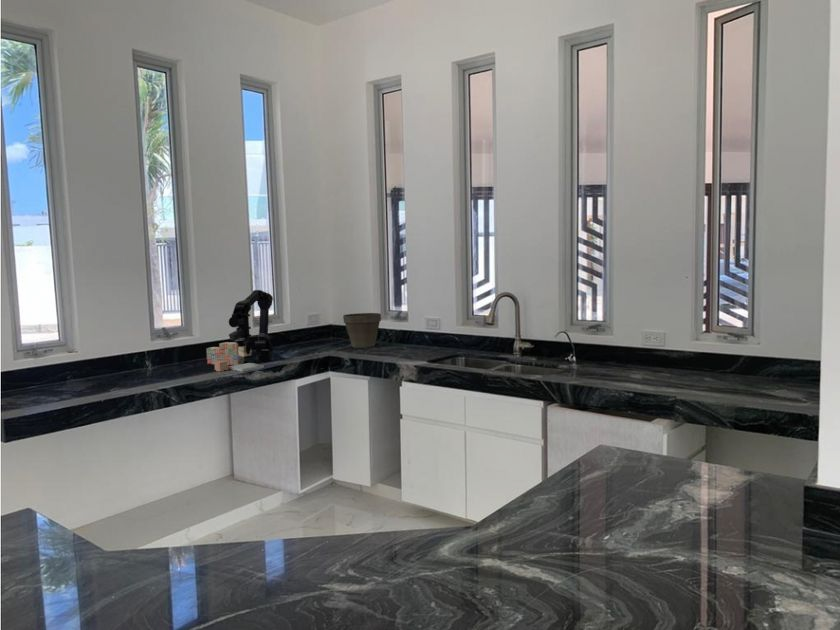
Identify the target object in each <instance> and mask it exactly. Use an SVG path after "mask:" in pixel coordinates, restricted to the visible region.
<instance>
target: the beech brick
mask: <svg viewBox="0 0 840 630" xmlns="http://www.w3.org/2000/svg"><path fill="white" fill-rule="evenodd" d="M238 353H239V356H243V357H244V358H245V357H248V356H249V357H251V356H253V353H252V349H251V350H250V353H249V354H247V352H246V345H245V346H240V347H238Z"/></svg>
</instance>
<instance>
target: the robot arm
mask: <svg viewBox="0 0 840 630" xmlns="http://www.w3.org/2000/svg"><path fill="white" fill-rule="evenodd" d="M273 298H274V297H273V295H272V294H271V293H269V292H266V291H264V290H261V289H254V290H253V291H252V293H250V294H249V295H248V296H247V297H246V298H245V299H243V300H240V301H238V302H236V304H235V305H234V309H233V311H232V314H231V317H230V318H229V320H228V325H229V327H231V328H236V329H235V330H234V331H232V332H230V333H229V334H228V337H229V339H230V341H233V342H236V343H237V344H238V346H239V347H240V346H246V352H247V354H249V353H250V350H252V348H253V346H254V347H255V351H256V352H257V353H258V360H257V363H263V364H266V363H269V362H274V359H273V360H272V352H274V349H275V347H274V346H273V343H272V342H271V338H270V336H269V334H268V333H269V316H270V312H269V311H270V308H271V307H272V306H273V305H272V304H273V301H274V299H273ZM256 302H257V305H258V307H259V327H258V329H259V331H258V335H252V334H251V333H250V329H252V327H251V326H250V317H251V314H250V311H251V310H252V306H253V305H254V304H255V303H256Z"/></svg>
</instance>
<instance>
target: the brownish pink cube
mask: <svg viewBox="0 0 840 630" xmlns="http://www.w3.org/2000/svg"><path fill="white" fill-rule="evenodd" d="M213 365H214V371H215V370H216V371H215V372H219V371H221V372H225V371H224V370H227V371H229V369H228V366H229V365H228V361H216V362H214V364H213Z"/></svg>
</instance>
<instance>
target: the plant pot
mask: <svg viewBox="0 0 840 630" xmlns="http://www.w3.org/2000/svg"><path fill="white" fill-rule="evenodd" d="M381 321H382V314H381V313H380V312H379V313H378V312H362V313H360V312H359V313H349V314H348V313H347V314H343V323H344V324H345V327H346V331H347V334H348V337H349V340H350V344H351V347H352V348H356V349H358V348H359V349H362V348H363V349H364V348H372V347H375V345H376V341H377V337H378V332H379V327H380V322H381Z"/></svg>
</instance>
